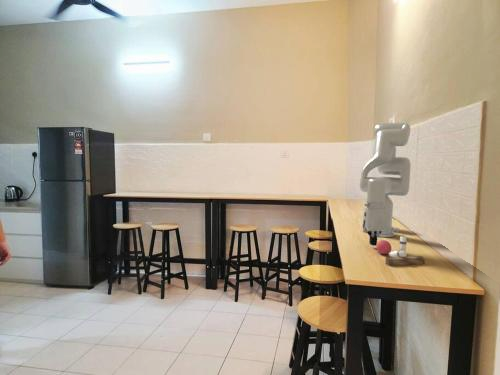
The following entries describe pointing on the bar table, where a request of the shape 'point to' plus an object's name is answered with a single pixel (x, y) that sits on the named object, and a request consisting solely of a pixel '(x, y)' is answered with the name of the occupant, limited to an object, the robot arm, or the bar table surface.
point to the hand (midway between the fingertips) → (373, 244)
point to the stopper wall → (405, 260)
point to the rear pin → (402, 244)
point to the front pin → (397, 254)
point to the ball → (383, 247)
